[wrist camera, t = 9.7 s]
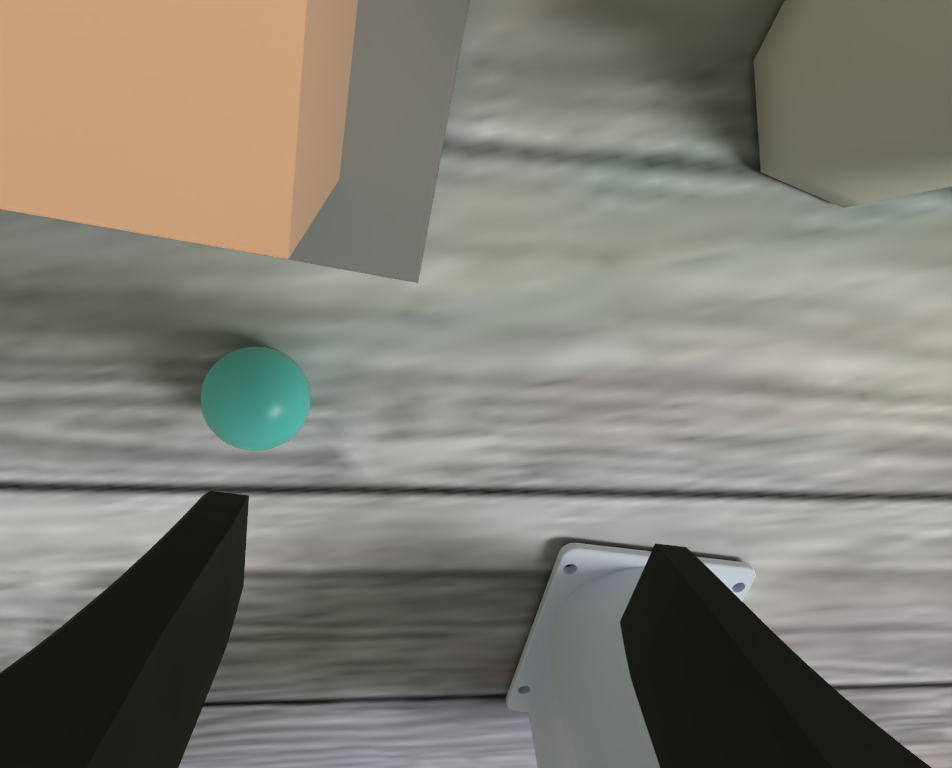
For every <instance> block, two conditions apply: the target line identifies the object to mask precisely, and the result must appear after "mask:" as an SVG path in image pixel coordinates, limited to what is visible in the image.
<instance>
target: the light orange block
mask: <svg viewBox="0 0 952 768" xmlns="http://www.w3.org/2000/svg"><path fill="white" fill-rule="evenodd" d="M357 3H358V0H0V209H3V210H9V211H14V212H20V213H26V214H32V215H37V216H43V217H49V218H55V219H60V220H66V221H72V222H78V223H84V224H89V225H95V226H101V227H107V228H112V229H118V230H124V231H130V232H135V233H141V234H147V235H153V236H158V237H164V238H170V239H176V240H181V241H187V242H193V243H199V244H204V245H210V246H216V247H222V248H227V249H233V250H239V251H245V252H250V253H256V254H262V255H268V256H273V257H279V258H285V259H289V257H290V256H291V254H292V253H293V251H294V249H295V248H296V246H297V245H298V243H299V242H300V240H301V238H302V237H303V235H304V234H305V232H306V231H307V229H308V228H309V226H310V224H311V223H312V221H313V220H314V218H315V217H316V215H317V213H318V212H319V210H320V209H321V207H322V206H323V204H324V202H325V201H326V199H327V198H328V196H329V195H330V193H331V191H332V190H333V188H334V187H335V185H336V184H337V182H338V180H339V177H340V167H341V157H342V148H343V138H344V128H345V119H346V109H347V100H348V90H349V80H350V71H351V61H352V51H353V42H354V32H355V23H356V13H357Z"/></svg>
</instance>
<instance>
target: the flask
mask: <svg viewBox="0 0 952 768" xmlns="http://www.w3.org/2000/svg"><path fill="white" fill-rule="evenodd" d="M754 74H755V90H756V106H757V122H758V137H759V153H760V169H761V173H764V174H766V175H768V176H771V177H773V178H775V179H778V180H780V181H782V182H785V183H787V184H789V185H792V186H794V187H796V188H799V189H801V190H803V191H806V192H808V193H810V194H813V195H815V196H817V197H820V198H822V199H824V200H827V201H829V202H831V203H834V204H836V205H838V206H841V207H850V206H856V205H862V204H868V203H873V202H877V201H882V200H887V199H892V198H897V197H902V196H906V195H911V194H916V193H921V192H926V191H931V190H935V189H940V188H946V187H952V0H784V2H783V4H782V6H781V8H780V10H779V12H778V14H777V16H776V18H775V20H774V22H773V24H772V26H771V28H770V30H769V32H768V34H767V36H766V38H765V40H764V41H763V43H762V45H761V47H760V49H759V51H758V53H757V55H756V57H755V59H754Z"/></svg>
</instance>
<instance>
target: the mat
mask: <svg viewBox="0 0 952 768" xmlns="http://www.w3.org/2000/svg"><path fill="white" fill-rule="evenodd" d="M468 3H469V0H358V3H357V13H356V23H355V32H354V42H353V51H352V61H351V71H350V80H349V90H348V100H347V109H346V119H345V128H344V138H343V148H342V157H341V167H340V177H339V180H338V182H337V184H336V185H335V187H334V188H333V190H332V191H331V193H330V195H329V196H328V198H327V199H326V201H325V202H324V204H323V206H322V207H321V209H320V210H319V212H318V213H317V215H316V217H315V218H314V220H313V221H312V223H311V224H310V226H309V228H308V229H307V231H306V232H305V234H304V235H303V237H302V238H301V240H300V242H299V243H298V245H297V246H296V248H295V249H294V251H293V253H292V254H291V256H290V257H289V260H294V261H300V262H305V263H311V264H316V265H322V266H327V267H333V268H339V269H344V270H350V271H355V272H361V273H366V274H372V275H377V276H383V277H388V278H394V279H399V280H405V281H410V282H416V283H418V280H419V274H420V269H421V263H422V258H423V252H424V246H425V241H426V235H427V230H428V224H429V219H430V213H431V208H432V202H433V197H434V191H435V186H436V180H437V175H438V169H439V164H440V158H441V153H442V147H443V141H444V136H445V130H446V125H447V119H448V114H449V108H450V103H451V97H452V92H453V86H454V81H455V75H456V70H457V64H458V59H459V53H460V48H461V42H462V36H463V31H464V25H465V20H466V14H467V9H468ZM261 255H262V254H261ZM267 256H268V255H267ZM272 257H273V256H272ZM278 258H279V257H278ZM283 259H285V258H283Z"/></svg>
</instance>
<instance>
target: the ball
mask: <svg viewBox="0 0 952 768" xmlns="http://www.w3.org/2000/svg"><path fill="white" fill-rule="evenodd" d="M310 404H311V393H310V387H309V383H308V381H307V378H306V376H305V374H304V372H303V371H302V369H301V368H300V367H299V365H298V364H297V363H296V362H295V361H294V360H292V359H291V358H290V357H289V356H287V355H285V354H284V353H282V352H280V351H277V350H274V349H271V348H267V347H245V348H241V349H238V350H235V351H233V352H230V353H229V354H227V355H225V356H224V357H222V358H221V359H220V360H218V361H217V362H216V363H215V364H214V366H213V367H212V368H211V369H210V371H209V372H208V374H207V376H206V378H205V380H204V382H203V386H202V390H201V408H202V413H203V415H204V418H205V420H206V422H207V424H208V426H209V427H210V429H211V430H212V431H213V432H214V433H215V434H216V435H217V436H218V437H219V438H220V439H221V440H223V441H224V442H226V443H228V444H230V445H232V446H234V447H237V448H240V449H244V450H266V449H271V448H274V447H276V446H279V445H281V444H283V443H285V442H286V441H288V440H289V439H291V438H292V437H293V436H294V435H295V434H296V433H297V432H298V431H299V430H300V428H301V427H302V426H303V424H304V422H305V420H306V418H307V416H308V413H309V409H310Z"/></svg>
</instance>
